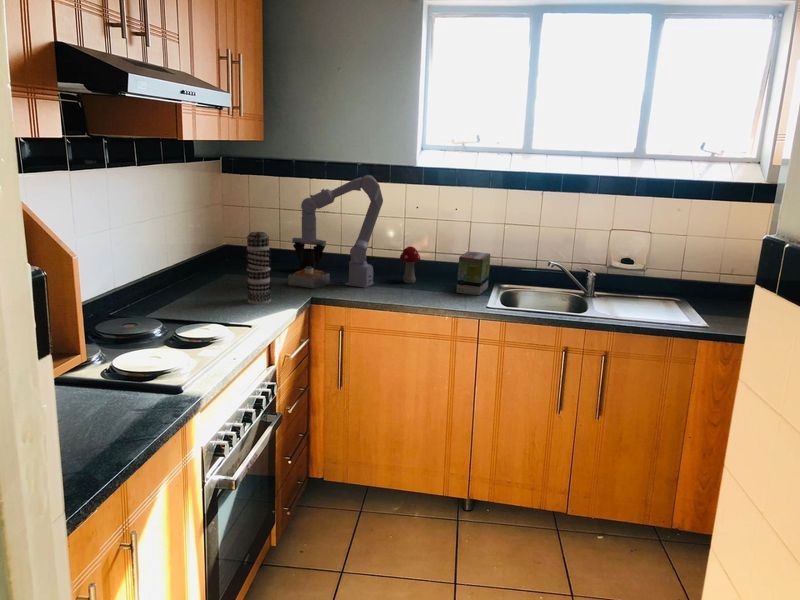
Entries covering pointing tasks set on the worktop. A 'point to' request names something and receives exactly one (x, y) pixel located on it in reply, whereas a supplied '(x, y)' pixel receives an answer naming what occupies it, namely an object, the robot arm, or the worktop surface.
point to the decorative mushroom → (409, 263)
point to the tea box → (473, 273)
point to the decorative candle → (258, 268)
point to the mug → (308, 259)
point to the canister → (309, 270)
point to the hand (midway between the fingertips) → (309, 262)
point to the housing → (308, 279)
